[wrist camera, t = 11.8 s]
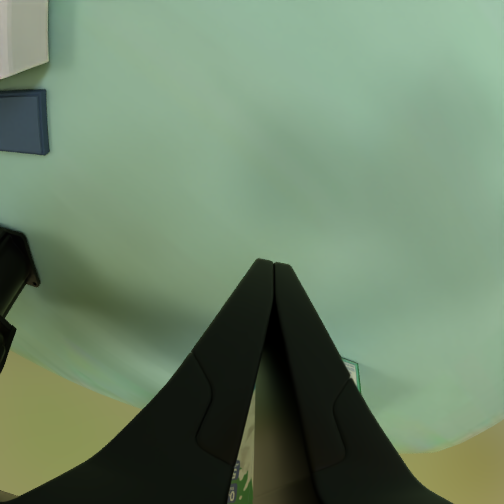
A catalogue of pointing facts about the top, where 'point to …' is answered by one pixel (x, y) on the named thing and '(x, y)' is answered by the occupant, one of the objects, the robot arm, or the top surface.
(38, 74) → the top surface
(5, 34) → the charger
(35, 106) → the dark blue flat bar
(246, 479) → the milk carton
